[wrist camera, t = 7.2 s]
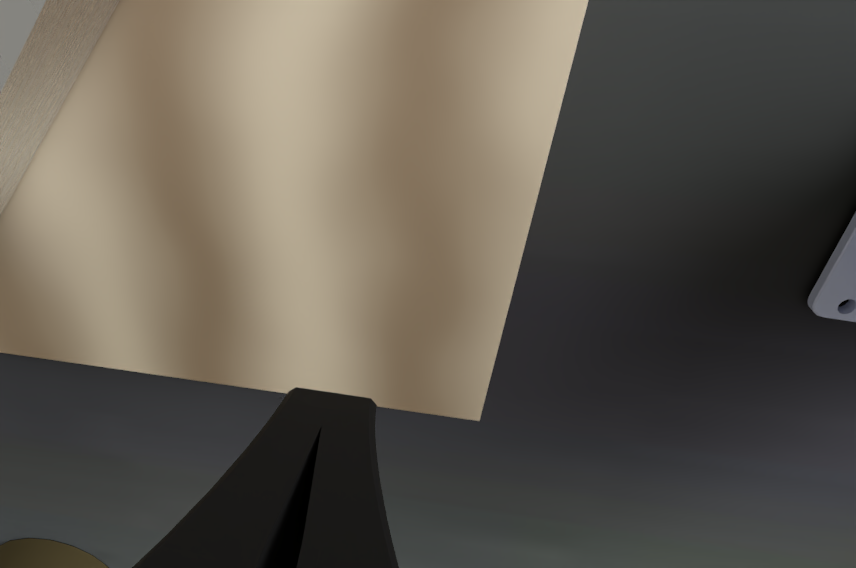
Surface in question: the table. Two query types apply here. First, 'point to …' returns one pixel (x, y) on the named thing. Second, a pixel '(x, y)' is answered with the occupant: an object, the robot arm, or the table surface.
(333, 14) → the cracker board
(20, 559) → the pepper mill
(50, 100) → the lever
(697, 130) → the table surface
